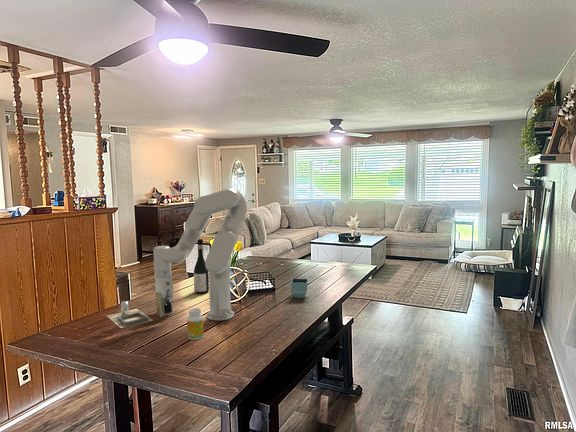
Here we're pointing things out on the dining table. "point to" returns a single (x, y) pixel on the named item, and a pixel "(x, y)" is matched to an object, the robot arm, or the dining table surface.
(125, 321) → the board
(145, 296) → the dining table surface
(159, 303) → the skincare box
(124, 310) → the steel pin
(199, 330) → the supplement bottle
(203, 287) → the wine bottle
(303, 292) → the flower pot
